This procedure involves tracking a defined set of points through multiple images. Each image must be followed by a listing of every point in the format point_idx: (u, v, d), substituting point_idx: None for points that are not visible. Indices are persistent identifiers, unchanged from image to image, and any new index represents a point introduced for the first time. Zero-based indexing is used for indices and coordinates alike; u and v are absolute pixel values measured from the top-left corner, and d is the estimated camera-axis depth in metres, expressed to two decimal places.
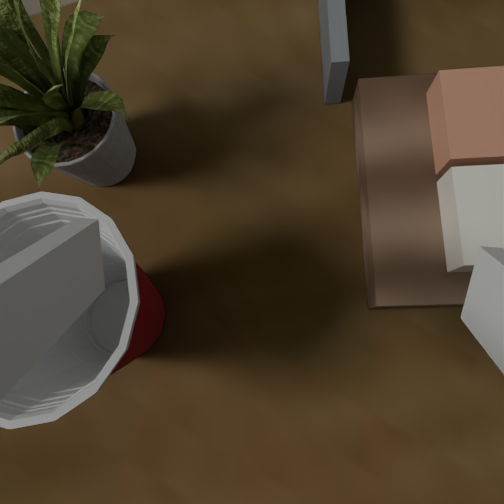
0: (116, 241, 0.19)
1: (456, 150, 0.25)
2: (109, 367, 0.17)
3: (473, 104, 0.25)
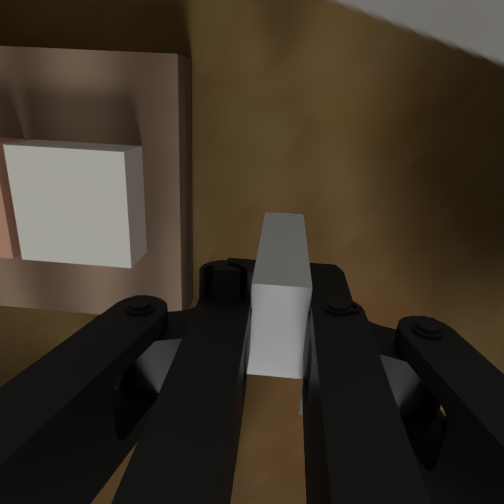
0: None
1: (2, 250, 0.22)
2: None
3: None
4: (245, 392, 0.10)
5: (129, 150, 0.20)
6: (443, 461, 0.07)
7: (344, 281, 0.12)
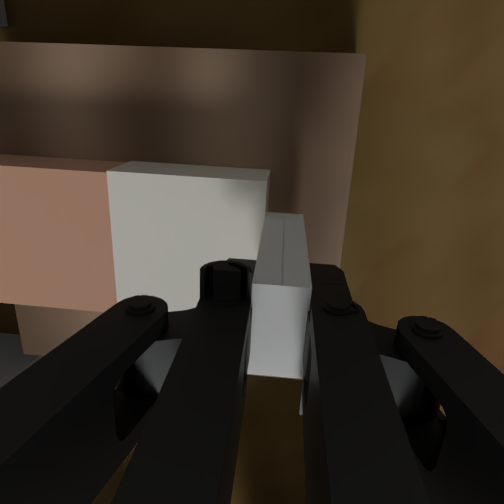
0: None
1: (105, 303, 0.17)
2: None
3: (33, 268, 0.17)
4: (245, 392, 0.10)
5: (267, 178, 0.16)
6: (443, 461, 0.07)
7: (344, 281, 0.12)
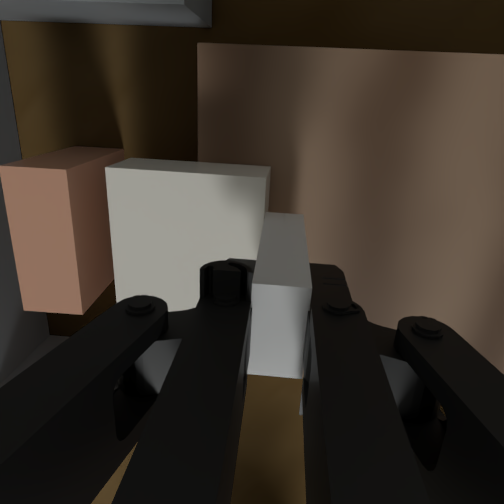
0: None
1: None
2: None
3: None
4: (245, 392, 0.10)
5: (267, 174, 0.15)
6: (444, 461, 0.07)
7: (344, 281, 0.12)
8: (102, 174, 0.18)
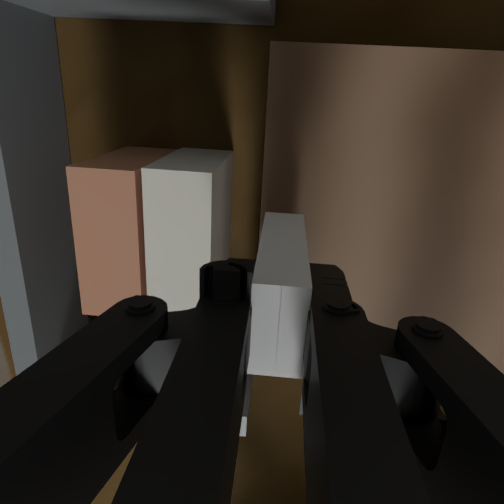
0: None
1: None
2: None
3: None
4: (245, 392, 0.10)
5: (162, 170, 0.14)
6: (443, 461, 0.07)
7: (344, 281, 0.12)
8: None
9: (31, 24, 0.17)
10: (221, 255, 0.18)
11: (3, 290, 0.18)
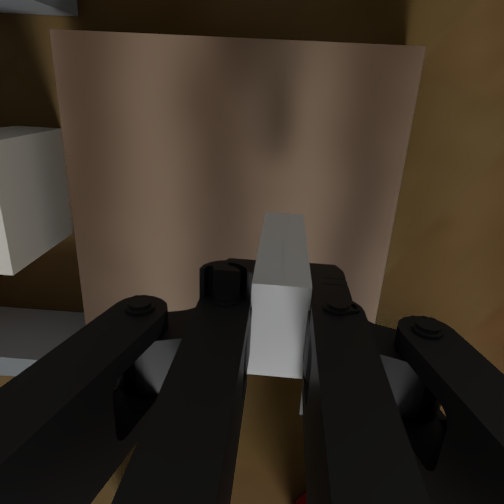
0: None
1: None
2: None
3: None
4: (245, 392, 0.10)
5: None
6: (444, 461, 0.07)
7: (344, 281, 0.12)
8: None
9: None
10: (40, 219, 0.21)
11: None
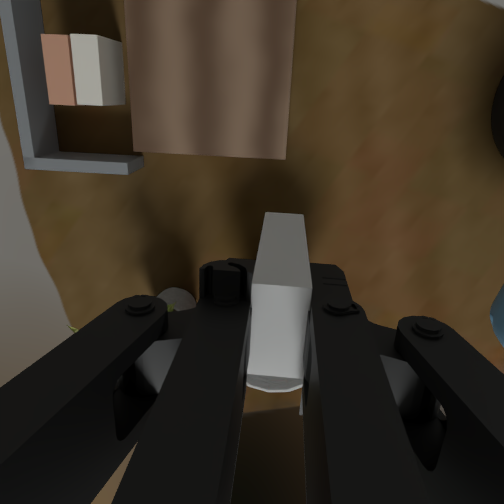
0: None
1: None
2: None
3: None
4: (245, 392, 0.10)
5: (78, 34, 0.37)
6: (443, 461, 0.07)
7: (344, 281, 0.12)
8: None
9: None
10: (113, 85, 0.41)
11: (15, 99, 0.40)
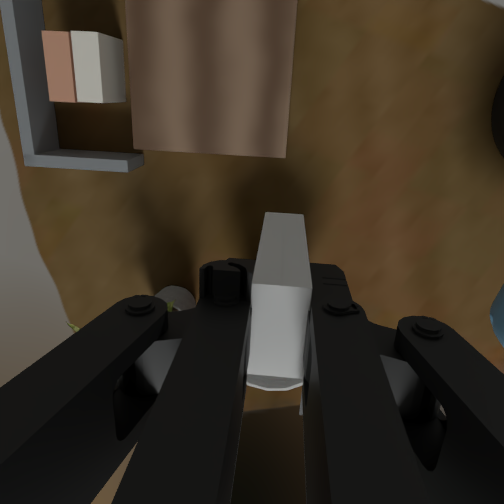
0: None
1: None
2: None
3: None
4: (245, 392, 0.10)
5: (79, 31, 0.37)
6: (444, 461, 0.07)
7: (344, 281, 0.12)
8: None
9: None
10: (113, 83, 0.41)
11: (15, 96, 0.40)
